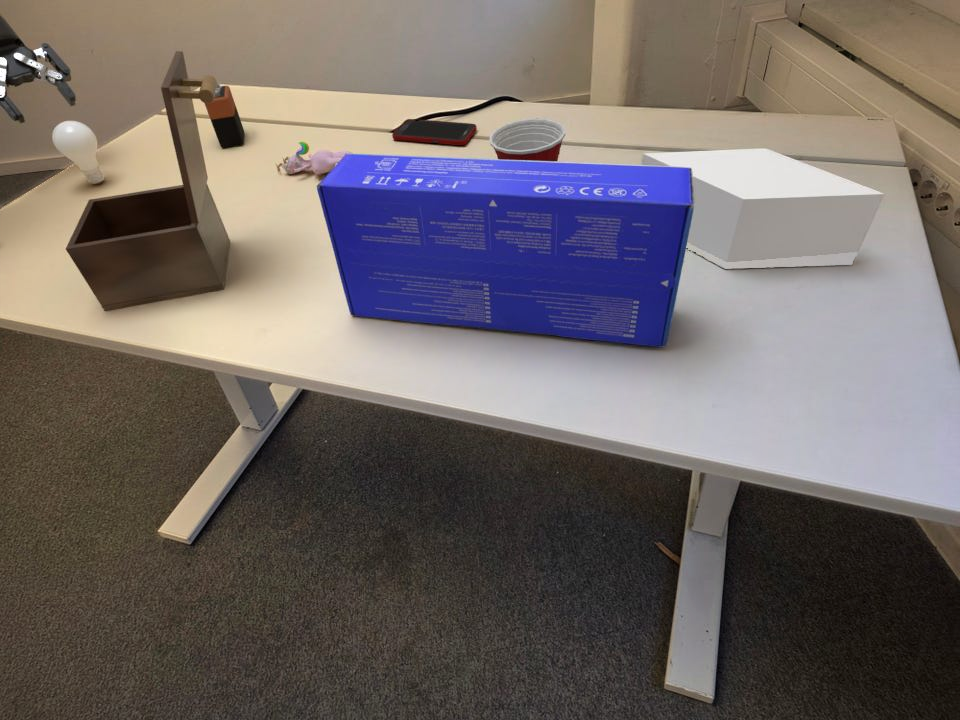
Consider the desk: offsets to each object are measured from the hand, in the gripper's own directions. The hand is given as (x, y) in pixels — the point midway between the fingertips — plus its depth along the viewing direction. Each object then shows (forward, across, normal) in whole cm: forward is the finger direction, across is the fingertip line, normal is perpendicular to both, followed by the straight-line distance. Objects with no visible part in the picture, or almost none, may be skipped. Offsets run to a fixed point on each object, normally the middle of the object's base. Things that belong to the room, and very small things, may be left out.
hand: (48, 111), depth 103 cm
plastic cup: (+61, +36, -44) cm, 84 cm away
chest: (+39, -7, -23) cm, 46 cm away
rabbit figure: (+35, +25, -18) cm, 47 cm away
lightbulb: (+13, 0, +4) cm, 13 cm away
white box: (+82, +45, -65) cm, 114 cm away
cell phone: (+40, +48, -23) cm, 66 cm away
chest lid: (+30, 0, -39) cm, 49 cm away
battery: (+17, +24, 0) cm, 30 cm away
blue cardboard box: (+70, +15, -54) cm, 89 cm away
